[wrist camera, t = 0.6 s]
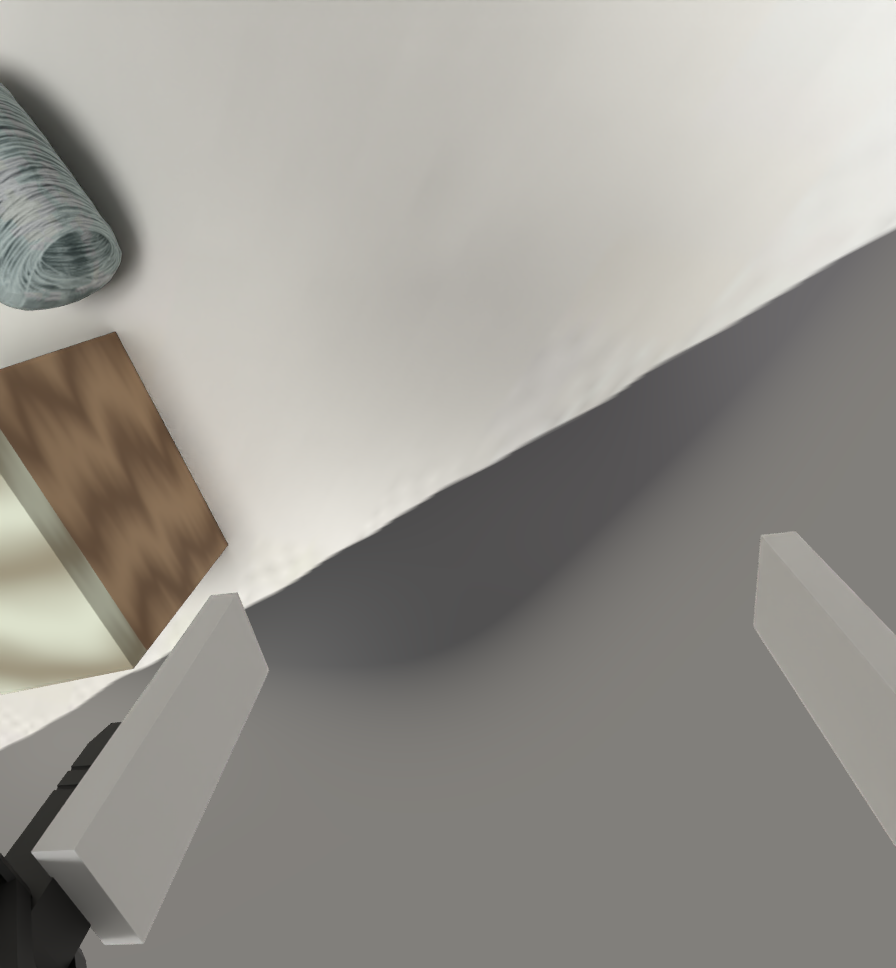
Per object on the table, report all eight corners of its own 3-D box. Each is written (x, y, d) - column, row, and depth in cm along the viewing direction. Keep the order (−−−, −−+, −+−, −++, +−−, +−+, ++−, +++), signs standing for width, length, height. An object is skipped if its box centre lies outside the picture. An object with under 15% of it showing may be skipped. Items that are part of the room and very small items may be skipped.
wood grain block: (-3, 369, 41) (-218, 439, 28) (115, 331, 39) (-59, 388, 27) (124, 569, 48) (-3, 695, 36) (228, 545, 47) (133, 668, 34)
